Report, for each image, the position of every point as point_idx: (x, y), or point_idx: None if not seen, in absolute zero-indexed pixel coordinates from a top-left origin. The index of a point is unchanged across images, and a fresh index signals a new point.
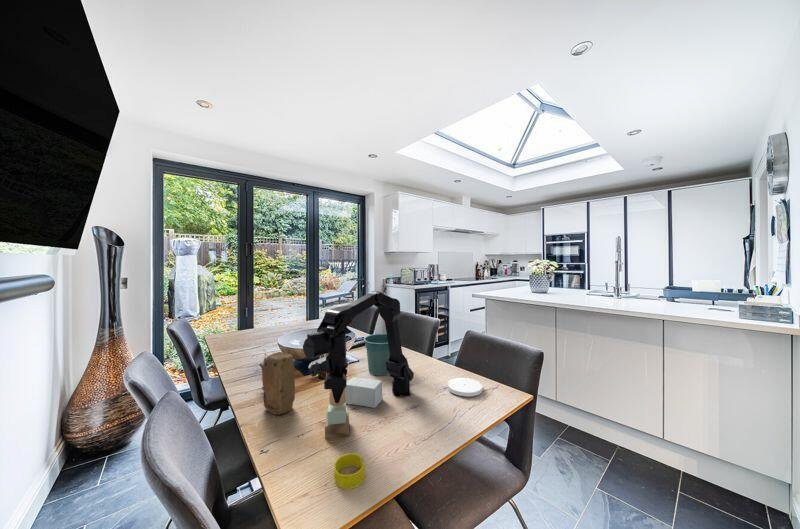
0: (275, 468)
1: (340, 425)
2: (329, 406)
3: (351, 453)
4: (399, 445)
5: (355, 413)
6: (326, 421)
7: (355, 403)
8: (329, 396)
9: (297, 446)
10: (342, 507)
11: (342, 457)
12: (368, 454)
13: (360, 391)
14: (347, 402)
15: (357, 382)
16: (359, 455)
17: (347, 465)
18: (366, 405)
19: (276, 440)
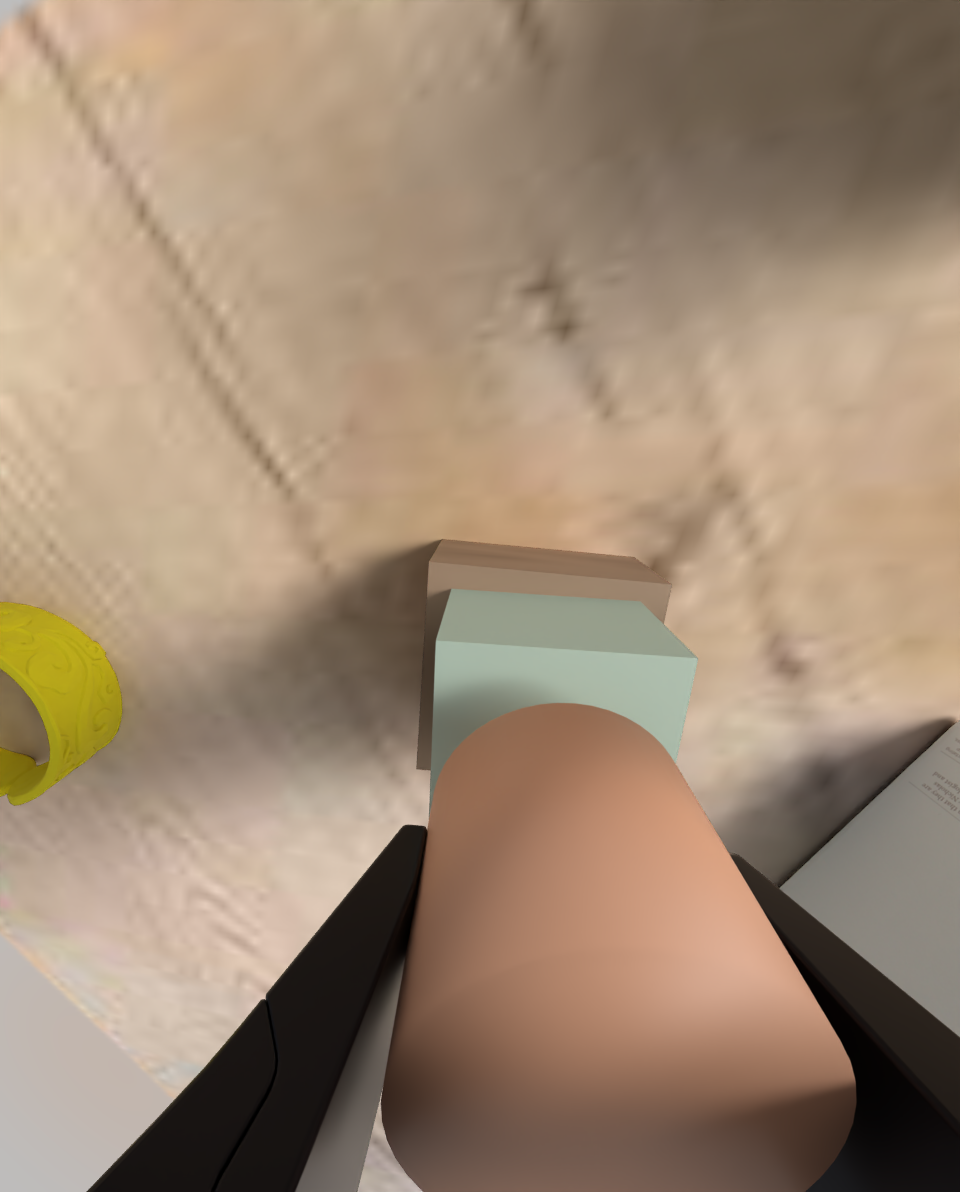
0: (103, 117)
1: (422, 701)
2: (585, 668)
3: (57, 750)
4: (275, 959)
5: (735, 781)
6: (520, 577)
7: (883, 806)
8: (558, 787)
9: (382, 296)
10: None
11: (30, 685)
12: (213, 804)
13: (950, 960)
14: (944, 744)
15: None
16: (35, 796)
17: (108, 683)
18: (803, 877)
19: (532, 28)
